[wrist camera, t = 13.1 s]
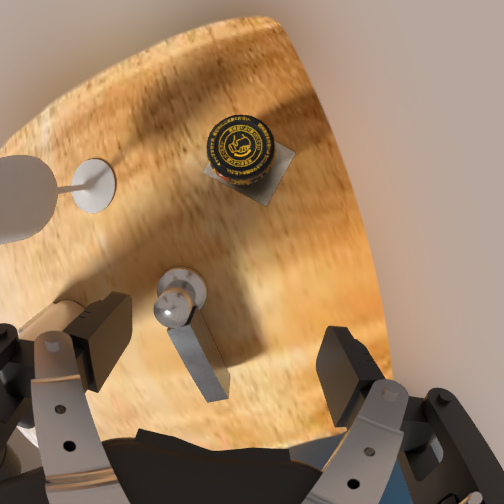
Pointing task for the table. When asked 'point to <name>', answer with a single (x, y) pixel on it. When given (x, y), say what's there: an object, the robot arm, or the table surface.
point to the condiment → (246, 157)
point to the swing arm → (193, 339)
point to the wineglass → (46, 193)
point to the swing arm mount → (188, 276)
